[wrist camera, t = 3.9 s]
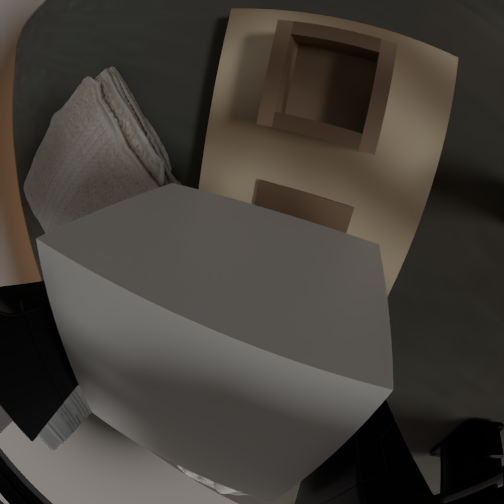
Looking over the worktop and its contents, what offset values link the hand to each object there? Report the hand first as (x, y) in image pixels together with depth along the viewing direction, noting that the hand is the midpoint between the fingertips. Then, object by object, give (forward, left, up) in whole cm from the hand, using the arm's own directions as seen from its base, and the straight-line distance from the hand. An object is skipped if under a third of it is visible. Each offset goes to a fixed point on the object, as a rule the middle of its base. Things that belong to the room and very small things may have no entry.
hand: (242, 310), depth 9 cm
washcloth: (-1, +17, -9) cm, 20 cm away
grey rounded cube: (0, 0, -1) cm, 1 cm away
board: (+4, 0, -8) cm, 9 cm away
